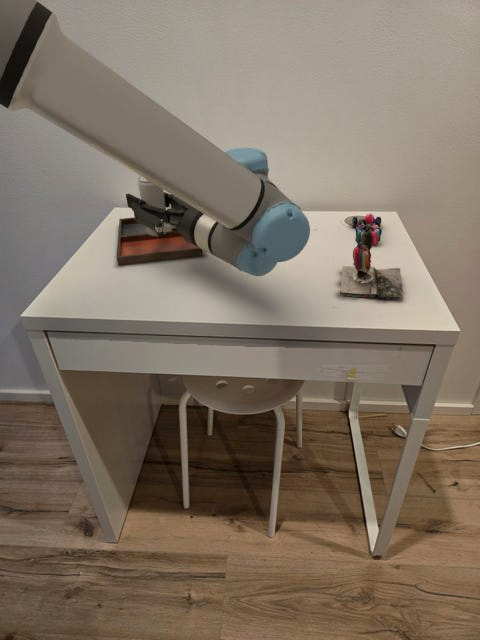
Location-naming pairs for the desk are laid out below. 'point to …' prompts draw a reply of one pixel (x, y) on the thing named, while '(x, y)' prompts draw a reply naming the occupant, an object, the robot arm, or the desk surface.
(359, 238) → the statue
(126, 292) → the desk surface
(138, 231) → the sorting tray
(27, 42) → the robot arm
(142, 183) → the beverage can
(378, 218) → the toy car
